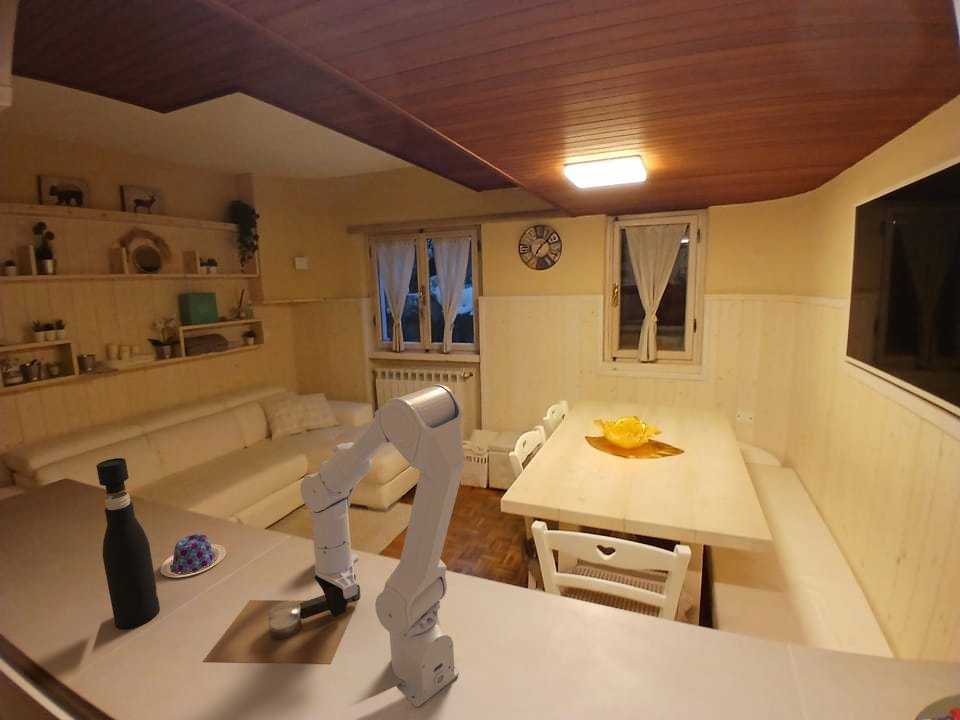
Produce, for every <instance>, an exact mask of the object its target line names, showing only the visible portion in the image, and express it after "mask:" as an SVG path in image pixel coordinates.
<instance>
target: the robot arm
mask: <svg viewBox="0 0 960 720" xmlns="http://www.w3.org/2000/svg"><path fill="white" fill-rule="evenodd" d="M464 413H465V411H464V408H463V407H462V405H461V403H460V402H459V400H458V398H457V397H456V395H455V393H454V392H453V391H452V390H451V389H450V388H449V387H448V386H446V385H444V384H440V383H437V384H436V383H434V384H432V385H430V386H427V387H425V388H423V389H420V390H418V391H415V392H412V393H408V394H406V395H404V396H400V397H393V398H391V399H388V400H387V401H385V403H384V404H383V405H382V407H379V408H378V409H377V410H376V411H375V412H374V418H373V419H372V420H371V422H370V423H369V424H368V425H367V426H366V427H365V429H364V430H363V431H362V433H361V434H360V435H359V436H358V437H357V439H356V440H355V441H354V442H346V443H344V442H342V443H340V444H338V445H336V446H335V447H334V448H333V449H332V451H333V455H332V456H330V458H329V459H327V460H324V461H323V462H322V463H321V464H320V468H319V470H318V471H317V472H315V473H313V474H308V475H305V476H304V477H303V479H302V481H301V483H300V488H299V490H300V495H301V498H302V501H303V503H304V504H305V506H306V507H307V508H308V509H309V510H310V517H311V518H310V519H311V528H312V530H311V531H312V539H313V548H314V549H313V550H314V559H315V561H314V570H315V571H314V572H315V576H314V578H315V580H316V582H317V583H318V585H319V587H320V588H321V589H322V591H323V593H324V594H323V595H325V597H326V600H327V603H328V606H329V609H330V612H331V613H332V615H333V617H336V616H339V615H341V614H343V613H345V612H346V608H347V602H348V598H349V597H352V596H354V595H356V594H358V592H357V585H358V582H357V581H356V579H357V575H356V573H355V569H354V567H355V566H354V564H355V563H358V562H359V561H360V559H359V555H358V554H357V553H356V552H352V547H351V546H352V544H351V534H350V520H349V508H350V506H352V505H351V497H352V496H353V494H354V492H355V491H354V490H355V486H356V485H357V484H358V483H359V482H361V480H362V479H363V478H364V477H365V476H366V475H367V474H369V472H370V471H371V470H372V465H373V458H374V457H375V456H376V455H377V454H378V453H379V452H380V451H382V450H383V449H384V448H386V446H387V445H388V444H390V443H391V444H392V446H393V447H394V448H395V449H396V451H398V453H399V454H400V455H401V457H403V459H405V461H406V462H407V463H408V464H409V466H410V467H411V468H413V469H415V470H416V469H417V470H419V476H418V481H417V484H416V489H415V493H414V499H413V503H412V507H411V510H410V517H409V521H408V525H407V529H406V534H405V537H404V542H403V548H402V551H401V555H400V561H399V562H398V564H397V566H396V567H395V568H394V570H393V571H392V573H391V574H390V576H389V577H388V578H387V580H386V581H385V584H384V588H383V590H382V592H380V593H379V594H378V595H377V597H376V599H375V613H376V616H377V619H378V621H379V622H380V624H381V626H382V627H383V629H385V630H386V631H387V632H389V643H390V645H389V646H390V657H391V660H390V661H391V669H392V673H394V675H395V676H396V677H397V678H398V679H400V680H402V681H403V682H401V683H399V684H397V685H395V687H396V688H397V689H398V690H399V691H400V692H401V693H402V694H403V695H404V697H406V698H407V699H408V700H409V701H410V702H411V703H412V704H413V705H414V707H420V706H422V705H423V704H424V703H426V702H427V701H428V700H429V699H430V698H432V697H433V696H434V695H436V694H437V693H438V692H439V691H441V690H442V689H443V688H444V687H446V685H448V684H449V683H451V682H452V681H453V680H455V678H457V677H458V676H459V675H460V673H459V670H458V669H457V668H456V667H455V656H454V655H455V652H454V641H453V639H452V636H451V635H449V634H448V633H447V632H446V630H445V629H444V627H443V626H442V624H441V622H440V618H439V614H438V613H439V610H440V609H441V603H440V602H441V601H442V599H443V598H444V597H445V595H446V594H447V579H446V571H447V568H448V567H447V565H446V563H444V561H443V560H441V558H442V557H441V556H442V553H443V548H444V546H445V542H446V539H447V533H448V530H449V526H450V521H451V517H452V514H453V511H454V506H455V503H456V499H457V495H458V492H459V488H460V483H461V479H462V476H463V472H464V468H465V454H464V447H463V438H462V437H463V436H462V431H461V426H462V425H461V424H462V420H463V417H464ZM440 600H441V601H440Z"/></svg>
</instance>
